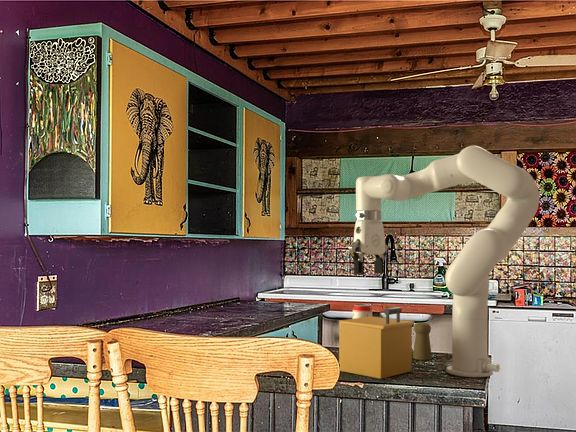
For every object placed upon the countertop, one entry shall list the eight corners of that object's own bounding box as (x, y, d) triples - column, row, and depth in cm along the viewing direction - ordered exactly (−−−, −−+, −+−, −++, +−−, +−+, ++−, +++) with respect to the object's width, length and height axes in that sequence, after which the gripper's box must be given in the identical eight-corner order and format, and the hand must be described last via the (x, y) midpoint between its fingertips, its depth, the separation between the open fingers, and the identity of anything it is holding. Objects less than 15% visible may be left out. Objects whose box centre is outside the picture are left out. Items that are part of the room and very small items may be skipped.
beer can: (359, 352, 223) (359, 303, 223) (375, 355, 219) (376, 304, 219) (348, 355, 218) (348, 304, 218) (364, 357, 214) (365, 306, 214)
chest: (411, 371, 194) (412, 324, 194) (380, 378, 183) (381, 329, 183) (370, 363, 204) (370, 319, 204) (338, 370, 193) (339, 323, 194)
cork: (430, 360, 210) (430, 324, 211) (410, 359, 212) (411, 323, 213) (433, 357, 216) (433, 322, 216) (414, 355, 218) (414, 321, 218)
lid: (414, 324, 193) (414, 306, 193) (383, 329, 183) (383, 310, 183) (370, 319, 204) (370, 302, 204) (339, 323, 194) (339, 305, 194)
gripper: (359, 216, 198) (360, 275, 197) (395, 217, 210) (396, 273, 210) (340, 217, 203) (340, 274, 203) (376, 218, 215) (376, 272, 215)
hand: (368, 273), depth 206 cm, fingers open, 9 cm apart
